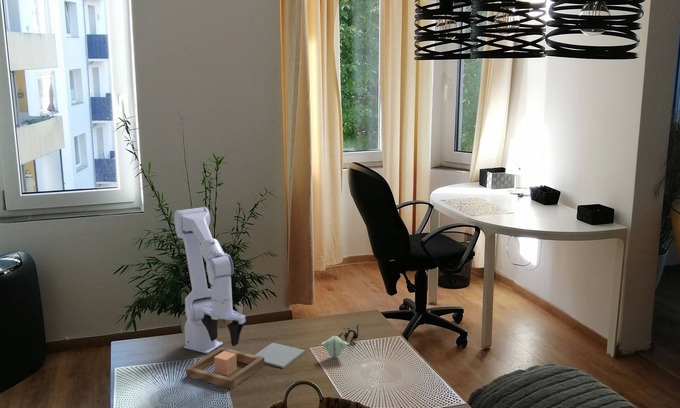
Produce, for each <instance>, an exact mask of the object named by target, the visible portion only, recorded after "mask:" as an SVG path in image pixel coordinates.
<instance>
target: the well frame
mask: <svg viewBox="0 0 680 408" xmlns="http://www.w3.org/2000/svg"><path fill="white" fill-rule="evenodd" d="M223 351H227V352H231V353H235V354H236V358H237V362H239V363H243V364H247V365H246V366H244V367H243V368H241V369H240V370H238V371H237V372H235V373H234V374H233V375H231V376H225V375H222V374H218V373H215V372H211V371H207V370H206V368H209V367H210V366H212V365H213V364H215V363H214V357H215V356H217V355H218V354H220V353H221V352H223ZM265 365H266V364H265V361H264V357H260V356H256V355H255V354H253V353H247V352H244V351H239V350H235V349H233V348H232V349H231V348H227V347H223V346H219V347H218V348H216V349H214V350H213V351H211V352H210V353H208V354H207V355H206V356H204V357H203V358H201V359H200V360H198V361H196V362H195V363H193V364H191V365H189V366H188V367H186V368H185V374H186V377H187V378H189V377H190V379H194V380H196V379H197V381H200V380H201V382H203V381H205V382H204V383H207V382H208V383H207V384H210V383H211V385H214V386H217V387H218V386H219V387H220V388H221V387H222V388H225V389H229V390H233V389H234V388H235V387H237V386H239V384H242V382H244V381H245V380H246V379H247V378H249V377H251V376H252V375H253V374H255V373H256V372H257V371H259V370H260V369H262V368H263V367H265Z"/></svg>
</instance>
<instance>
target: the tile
mask: <svg viewBox="0 0 680 408" xmlns="http://www.w3.org/2000/svg"><path fill="white" fill-rule="evenodd" d="M304 353H306V349H301V348H297V347H293V346H288V345H285V344H280V343H276V342H272V343H270V344H269V345H267V346H265V347H264V348H262V349H261V350H259V351H258V352H257V353H255V354H254V355H256V356H260V357H264V361H265V365H270V366H272V367H273V366H274V367H278V368H282V369H285V368H286V367H288V366H289V365H290V364H291V363H292V362H294V361H295V360H296V359H298V358H299V357H301V356H302V355H303V354H304Z"/></svg>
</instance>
